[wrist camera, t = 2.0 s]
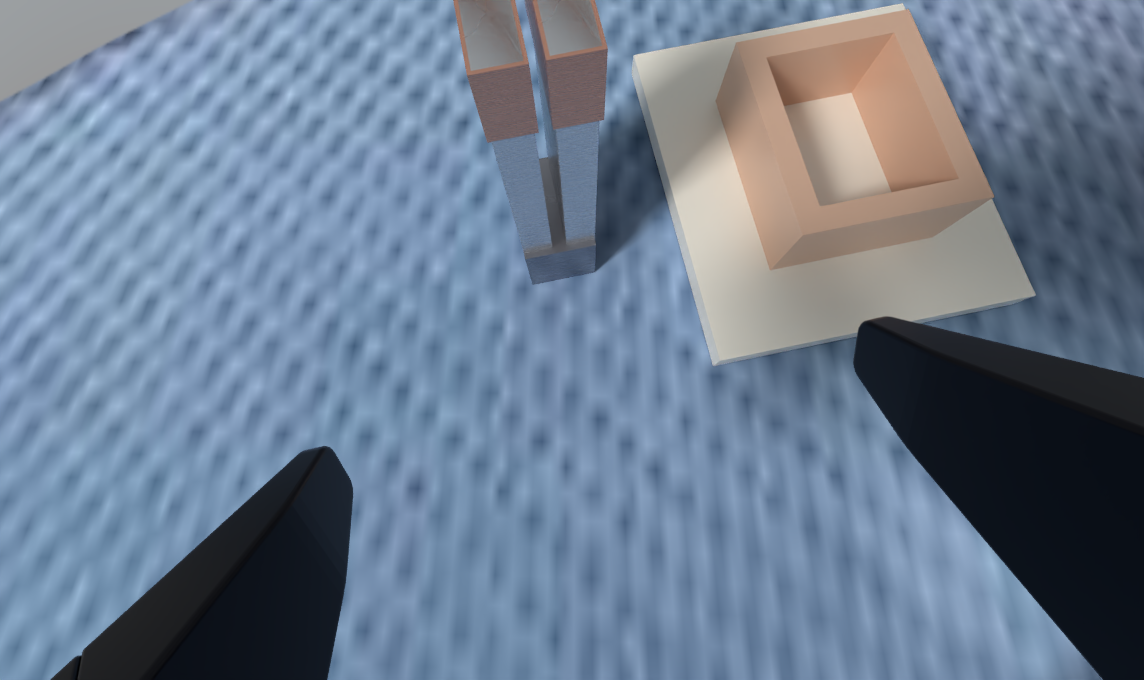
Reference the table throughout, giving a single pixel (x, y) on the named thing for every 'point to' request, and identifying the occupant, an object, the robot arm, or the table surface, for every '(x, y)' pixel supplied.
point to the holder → (821, 184)
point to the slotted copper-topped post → (570, 114)
